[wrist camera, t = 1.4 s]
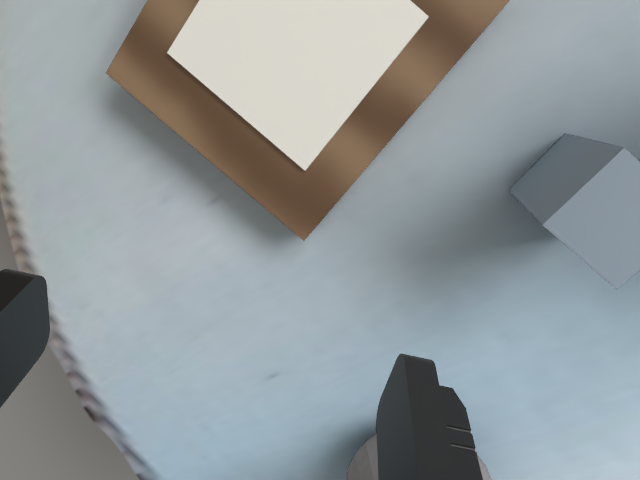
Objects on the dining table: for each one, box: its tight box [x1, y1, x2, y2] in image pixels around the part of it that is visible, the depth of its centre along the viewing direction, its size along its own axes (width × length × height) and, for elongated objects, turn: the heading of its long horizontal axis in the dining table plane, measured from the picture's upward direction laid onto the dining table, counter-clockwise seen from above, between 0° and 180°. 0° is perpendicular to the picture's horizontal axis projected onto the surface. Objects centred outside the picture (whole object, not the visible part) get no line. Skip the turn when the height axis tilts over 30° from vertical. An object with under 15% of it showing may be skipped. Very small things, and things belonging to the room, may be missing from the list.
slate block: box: [509, 134, 640, 289], centre depth 29 cm, size 5×5×10 cm
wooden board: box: [106, 0, 509, 241], centre depth 33 cm, size 20×18×3 cm
